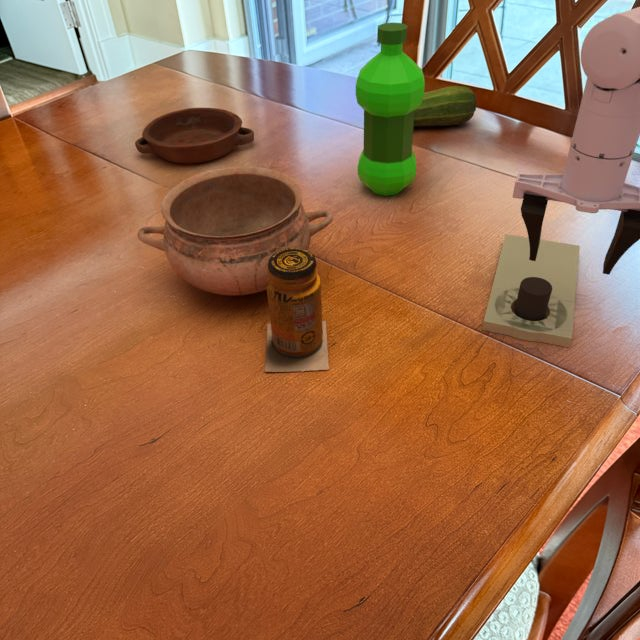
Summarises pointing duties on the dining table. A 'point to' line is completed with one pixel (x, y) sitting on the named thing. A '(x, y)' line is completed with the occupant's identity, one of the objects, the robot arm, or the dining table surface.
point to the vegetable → (445, 107)
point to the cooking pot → (232, 227)
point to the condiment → (295, 314)
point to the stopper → (533, 299)
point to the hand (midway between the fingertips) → (569, 262)
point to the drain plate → (550, 264)
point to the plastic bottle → (389, 113)
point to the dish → (194, 135)
